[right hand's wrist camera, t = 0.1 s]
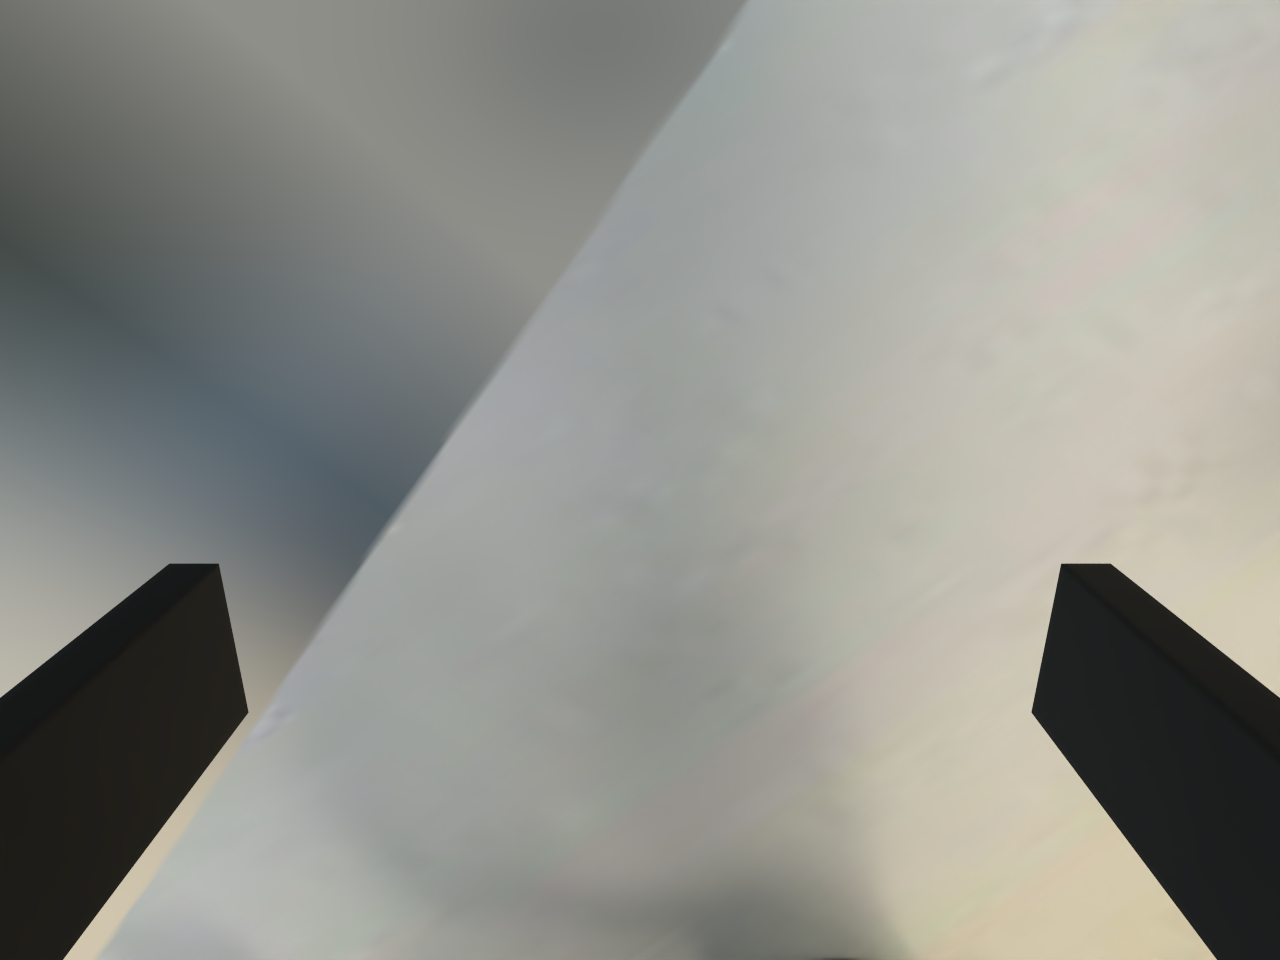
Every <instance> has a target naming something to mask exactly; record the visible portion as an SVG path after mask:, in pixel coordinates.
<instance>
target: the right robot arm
mask: <svg viewBox="0 0 1280 960" xmlns="http://www.w3.org/2000/svg"><path fill="white" fill-rule="evenodd" d="M247 714H248V708H247V703H246V698H245V693H244V688H243V683H242V678H241V673H240V668H239V663H238V658H237V653H236V648H235V643H234V638H233V633H232V628H231V623H230V618H229V613H228V608H227V603H226V598H225V593H224V588H223V583H222V578H221V573H220V568H219V564H169V565H167V566H166V567H165V568H163V569H162V570H161V571H160V572H158V573H157V574H156V575H155V576H153V577H152V578H151V579H150V580H148V581H147V582H146V583H145V584H143V585H142V586H141V587H140V588H138V589H137V590H136V591H135V592H133V593H132V594H131V595H129V596H128V597H127V598H126V599H124V600H123V601H122V602H121V603H119V604H118V605H117V606H116V607H114V608H113V609H112V610H111V611H109V612H108V613H107V614H105V615H104V616H103V617H102V618H100V619H99V620H98V621H97V622H95V623H94V624H93V625H92V626H90V627H89V628H88V629H87V630H85V631H84V632H83V633H82V634H80V635H79V636H78V637H76V638H75V639H74V640H73V641H71V642H70V643H69V644H68V645H66V646H65V647H64V648H63V649H61V650H60V651H59V652H58V653H56V654H55V655H54V656H53V657H51V658H50V659H49V660H47V661H46V662H45V663H44V664H42V665H41V666H40V667H39V668H37V669H36V670H35V671H34V672H32V673H31V674H30V675H29V676H27V677H26V678H25V679H24V680H22V681H21V682H20V683H19V684H17V685H16V686H15V687H13V688H12V689H11V690H10V691H8V692H7V693H6V694H5V695H3V696H2V697H1V698H0V960H63V959H64V957H65V956H66V955H67V954H68V952H69V951H70V950H71V948H72V947H73V946H74V944H75V943H76V942H77V940H78V939H79V938H80V936H81V935H82V934H83V932H84V931H85V930H86V928H87V927H88V926H89V924H90V923H91V922H92V920H93V919H94V918H95V916H96V915H97V914H98V912H99V911H100V909H101V908H102V907H103V906H104V904H105V903H106V902H107V900H108V899H109V898H110V896H111V895H112V894H113V892H114V891H115V890H116V888H117V887H118V886H119V884H120V883H121V882H122V880H123V879H124V878H125V876H126V875H127V874H128V872H129V871H130V870H131V868H132V867H133V866H134V864H135V863H136V862H137V860H138V859H139V858H140V856H141V855H142V854H143V852H144V851H145V849H146V848H147V847H148V846H149V844H150V843H151V842H152V840H153V839H154V838H155V836H156V835H157V834H158V832H159V831H160V830H161V828H162V827H163V826H164V824H165V823H166V822H167V820H168V819H169V818H170V816H171V815H172V814H173V812H174V811H175V810H176V808H177V807H178V806H179V804H180V803H181V802H182V800H183V799H184V798H185V796H186V795H187V794H188V792H189V791H190V790H191V788H192V787H193V786H194V784H195V783H196V782H197V780H198V779H199V778H200V776H201V775H202V774H203V772H204V771H205V770H206V768H207V767H208V766H209V764H210V763H211V762H212V760H213V759H214V758H215V756H216V755H217V754H218V752H219V751H220V750H221V748H222V747H223V746H224V744H225V743H226V742H227V740H228V739H229V738H230V736H231V735H232V734H233V732H234V731H235V730H236V728H237V727H238V726H239V724H240V723H241V722H242V720H243V719H244V718H245V716H246V715H247ZM1032 714H1033V715H1034V716H1035V718H1036V719H1037V720H1038V722H1039V723H1040V724H1041V726H1042V727H1043V728H1044V730H1045V731H1046V732H1047V734H1048V735H1049V736H1050V738H1051V739H1052V740H1053V742H1054V743H1055V744H1056V746H1057V747H1058V748H1059V750H1060V751H1061V752H1062V754H1063V755H1064V756H1065V758H1066V759H1067V760H1068V762H1069V763H1070V764H1071V766H1072V767H1073V768H1074V770H1075V771H1076V772H1077V774H1078V775H1079V776H1080V778H1081V779H1082V780H1083V782H1084V783H1085V784H1086V786H1087V787H1088V788H1089V790H1090V791H1091V792H1092V794H1093V795H1094V796H1095V798H1096V799H1097V800H1098V802H1099V803H1100V804H1101V806H1102V807H1103V808H1104V810H1105V811H1106V812H1107V814H1108V815H1109V816H1110V818H1111V819H1112V820H1113V822H1114V823H1115V824H1116V826H1117V827H1118V828H1119V830H1120V831H1121V832H1122V834H1123V835H1124V836H1125V838H1126V839H1127V840H1128V842H1129V843H1130V844H1131V846H1132V847H1133V848H1134V850H1135V851H1136V852H1137V854H1138V855H1139V856H1140V858H1141V859H1142V860H1143V862H1144V863H1145V864H1146V866H1147V867H1148V868H1149V870H1150V871H1151V872H1152V874H1153V875H1154V876H1155V878H1156V879H1157V880H1158V882H1159V883H1160V884H1161V886H1162V887H1163V888H1164V890H1165V891H1166V892H1167V894H1168V895H1169V896H1170V898H1171V899H1172V900H1173V902H1174V903H1175V904H1176V906H1177V907H1178V908H1179V910H1180V911H1181V912H1182V914H1183V915H1184V916H1185V918H1186V919H1187V920H1188V922H1189V923H1190V924H1191V926H1192V927H1193V928H1194V930H1195V931H1196V932H1197V934H1198V935H1199V936H1200V938H1201V939H1202V940H1203V942H1204V943H1205V944H1206V946H1207V947H1208V948H1209V950H1210V951H1211V952H1212V954H1213V955H1214V956H1215V958H1216V959H1217V960H1280V698H1279V697H1278V696H1277V695H1275V694H1274V693H1273V692H1272V691H1270V690H1269V689H1268V688H1267V687H1265V686H1264V685H1263V684H1262V683H1260V682H1259V681H1258V680H1256V679H1255V678H1254V677H1253V676H1251V675H1250V674H1249V673H1248V672H1246V671H1245V670H1244V669H1243V668H1241V667H1240V666H1239V665H1238V664H1236V663H1235V662H1234V661H1233V660H1231V659H1230V658H1229V657H1227V656H1226V655H1225V654H1224V653H1222V652H1221V651H1220V650H1219V649H1217V648H1216V647H1215V646H1214V645H1212V644H1211V643H1210V642H1209V641H1207V640H1206V639H1205V638H1204V637H1202V636H1201V635H1200V634H1198V633H1197V632H1196V631H1195V630H1193V629H1192V628H1191V627H1190V626H1188V625H1187V624H1186V623H1185V622H1183V621H1182V620H1181V619H1180V618H1178V617H1177V616H1176V615H1175V614H1173V613H1172V612H1171V611H1169V610H1168V609H1167V608H1166V607H1164V606H1163V605H1162V604H1161V603H1159V602H1158V601H1157V600H1156V599H1154V598H1153V597H1152V596H1151V595H1149V594H1148V593H1147V592H1146V591H1144V590H1143V589H1142V588H1140V587H1139V586H1138V585H1137V584H1135V583H1134V582H1133V581H1132V580H1130V579H1129V578H1128V577H1127V576H1125V575H1124V574H1123V573H1122V572H1120V571H1119V570H1118V569H1117V568H1115V567H1114V566H1113V565H1111V564H1061V568H1060V573H1059V578H1058V583H1057V588H1056V593H1055V598H1054V603H1053V608H1052V613H1051V618H1050V623H1049V628H1048V633H1047V638H1046V643H1045V648H1044V653H1043V658H1042V663H1041V668H1040V673H1039V678H1038V683H1037V688H1036V693H1035V698H1034V703H1033V708H1032Z"/></svg>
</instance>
